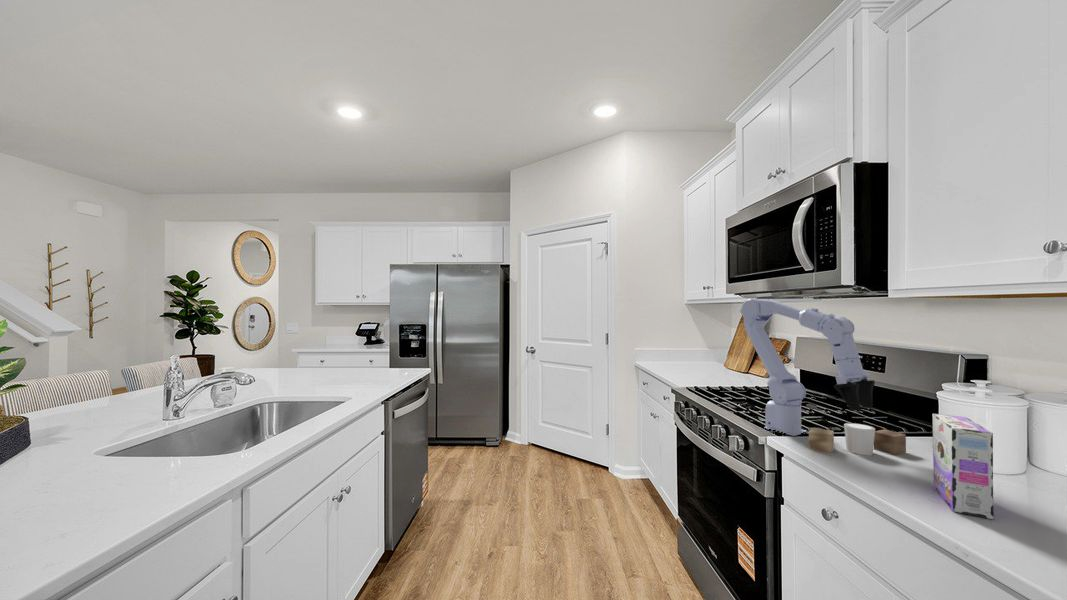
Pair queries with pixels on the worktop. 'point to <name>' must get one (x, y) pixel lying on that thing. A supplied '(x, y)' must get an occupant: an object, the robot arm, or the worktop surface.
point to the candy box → (963, 464)
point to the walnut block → (890, 442)
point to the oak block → (821, 440)
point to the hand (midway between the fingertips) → (861, 408)
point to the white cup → (859, 438)
